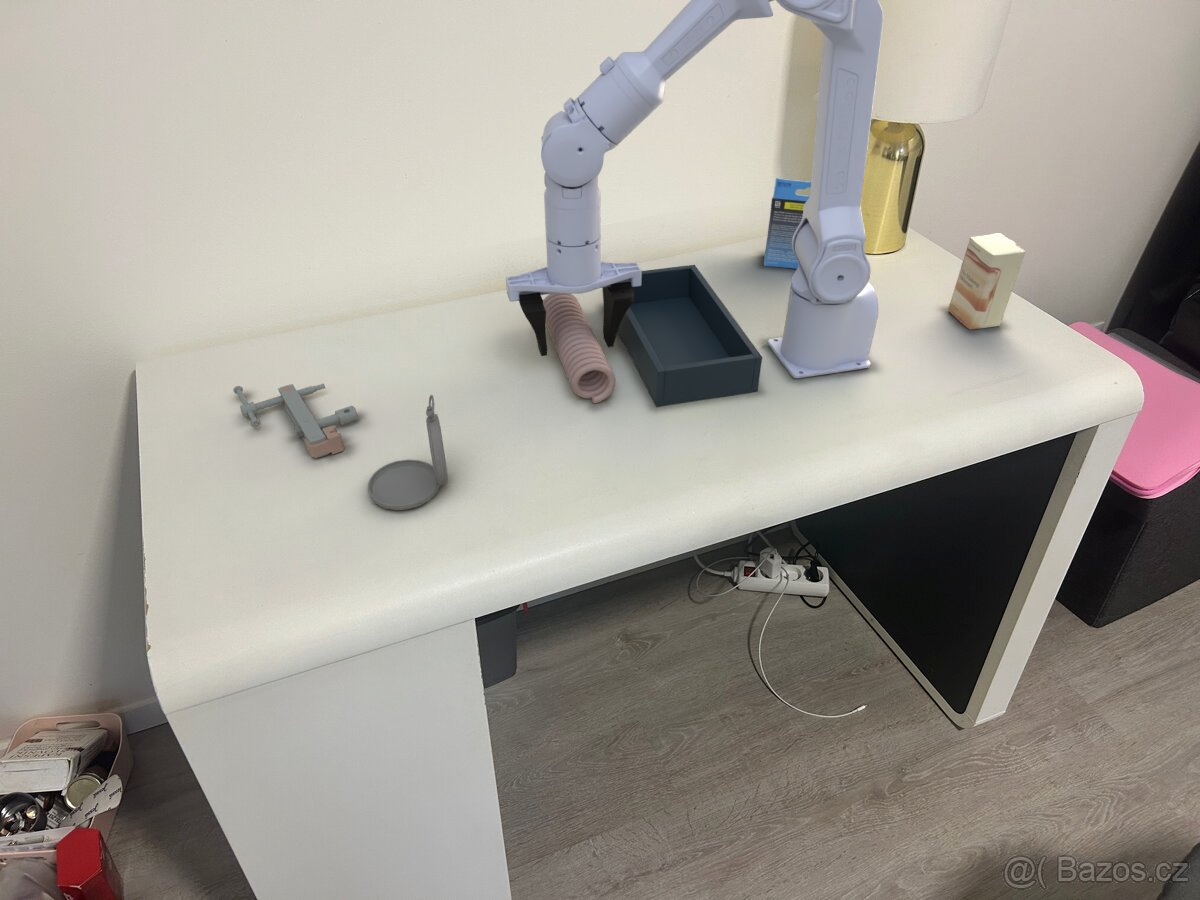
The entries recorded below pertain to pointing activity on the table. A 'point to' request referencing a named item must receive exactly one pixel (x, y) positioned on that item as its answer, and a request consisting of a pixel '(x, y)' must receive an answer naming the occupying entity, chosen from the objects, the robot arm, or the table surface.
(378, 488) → the pocket watch
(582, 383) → the coil
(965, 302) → the printed cream carton
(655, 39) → the robot arm
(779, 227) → the label tape box
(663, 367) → the bin
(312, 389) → the clamp
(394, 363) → the table surface
